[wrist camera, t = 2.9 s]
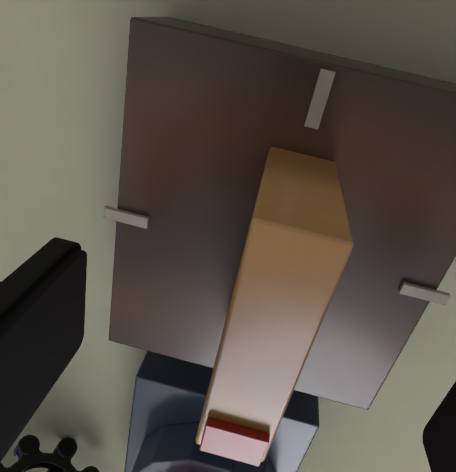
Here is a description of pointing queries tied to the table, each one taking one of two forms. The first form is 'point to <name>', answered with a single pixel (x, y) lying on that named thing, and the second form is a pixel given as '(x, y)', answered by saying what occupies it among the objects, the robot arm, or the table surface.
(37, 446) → the valve
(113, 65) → the table surface
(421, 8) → the table surface
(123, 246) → the handle panel
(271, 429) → the oak handle
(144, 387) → the button box
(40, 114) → the table surface
